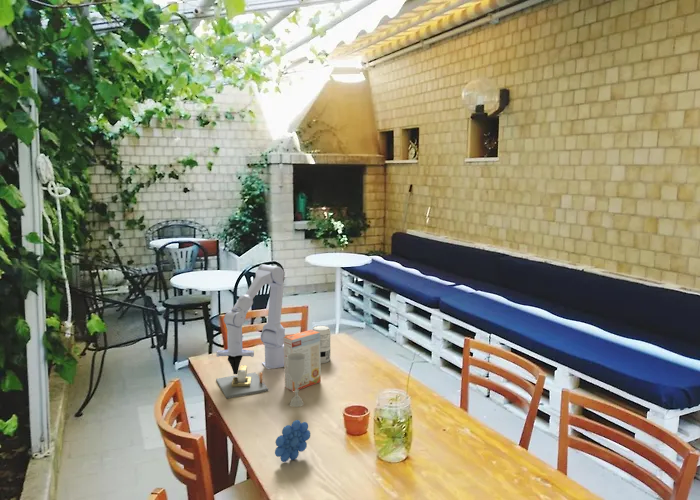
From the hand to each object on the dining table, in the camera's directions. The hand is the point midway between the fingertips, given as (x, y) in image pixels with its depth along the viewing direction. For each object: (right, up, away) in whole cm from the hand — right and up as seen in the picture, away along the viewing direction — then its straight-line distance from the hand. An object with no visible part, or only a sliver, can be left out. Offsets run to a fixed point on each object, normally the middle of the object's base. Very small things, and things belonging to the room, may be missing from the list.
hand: (235, 373), depth 217 cm
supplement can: (+33, 0, +24) cm, 41 cm away
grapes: (+28, -13, -56) cm, 64 cm away
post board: (+3, -4, -4) cm, 7 cm away
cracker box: (+27, -4, -3) cm, 27 cm away
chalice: (+26, -7, -20) cm, 33 cm away
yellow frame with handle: (+3, -2, -2) cm, 4 cm away
